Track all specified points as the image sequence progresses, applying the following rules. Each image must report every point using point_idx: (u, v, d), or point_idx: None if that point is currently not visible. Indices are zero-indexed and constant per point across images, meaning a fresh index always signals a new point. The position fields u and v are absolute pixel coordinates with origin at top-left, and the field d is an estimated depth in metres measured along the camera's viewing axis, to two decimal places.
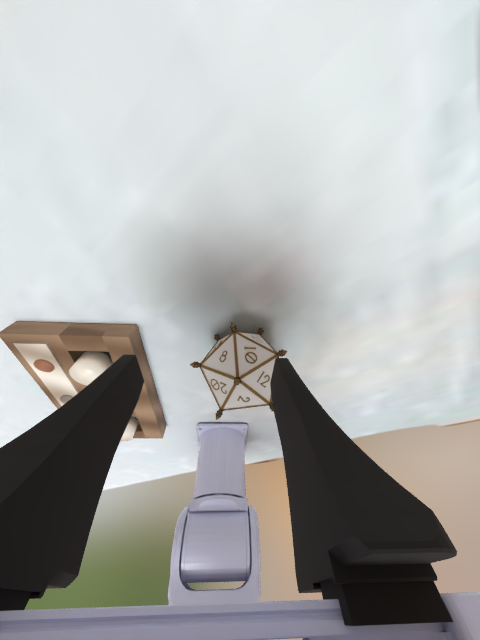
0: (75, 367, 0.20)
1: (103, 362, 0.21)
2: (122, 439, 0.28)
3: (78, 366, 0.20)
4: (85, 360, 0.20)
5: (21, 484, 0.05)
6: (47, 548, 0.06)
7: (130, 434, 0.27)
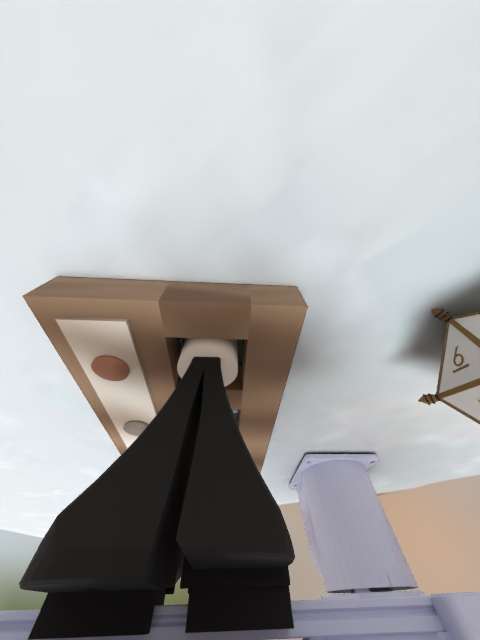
0: (194, 353, 0.10)
1: (233, 345, 0.11)
2: None
3: (200, 351, 0.10)
4: (210, 339, 0.11)
5: (169, 483, 0.05)
6: (176, 545, 0.06)
7: None
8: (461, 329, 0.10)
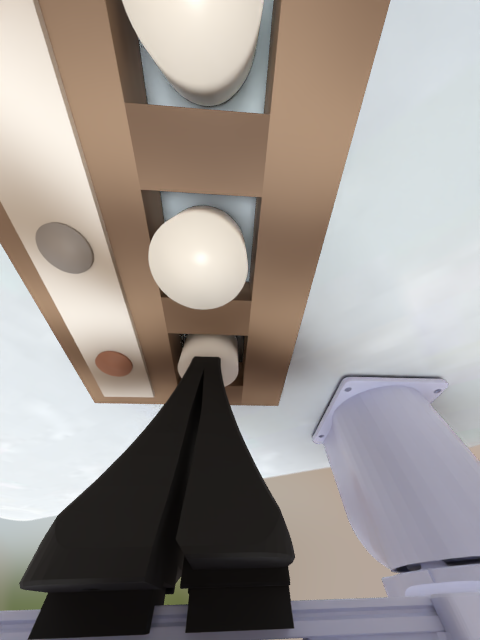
0: None
1: None
2: None
3: None
4: None
5: (169, 483, 0.05)
6: (176, 545, 0.06)
7: (234, 368, 0.11)
8: None
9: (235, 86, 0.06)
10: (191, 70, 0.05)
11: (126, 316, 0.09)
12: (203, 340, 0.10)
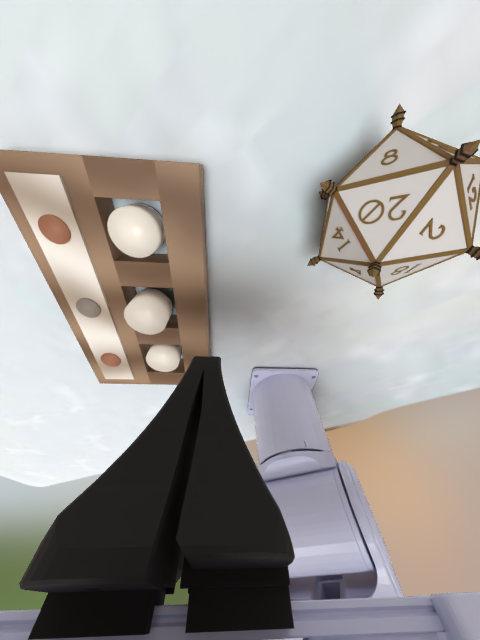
0: (118, 212, 0.13)
1: (156, 218, 0.14)
2: (163, 369, 0.21)
3: (122, 210, 0.13)
4: (133, 205, 0.13)
5: (169, 483, 0.05)
6: (176, 545, 0.06)
7: (176, 359, 0.20)
8: None
9: None
10: (136, 254, 0.14)
11: (116, 335, 0.19)
12: (158, 345, 0.20)
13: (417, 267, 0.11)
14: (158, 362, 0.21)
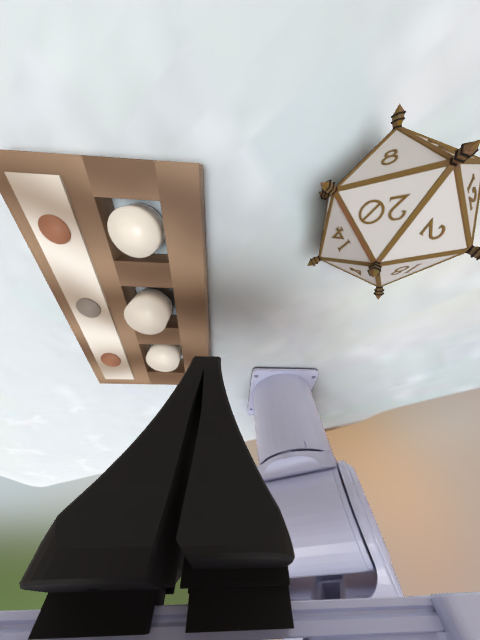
0: (118, 212, 0.13)
1: (156, 218, 0.14)
2: (163, 369, 0.21)
3: (122, 210, 0.13)
4: (133, 205, 0.13)
5: (169, 483, 0.05)
6: (176, 545, 0.06)
7: (176, 359, 0.20)
8: None
9: None
10: (136, 254, 0.14)
11: (116, 335, 0.19)
12: (158, 345, 0.20)
13: (417, 267, 0.11)
14: (158, 362, 0.21)
